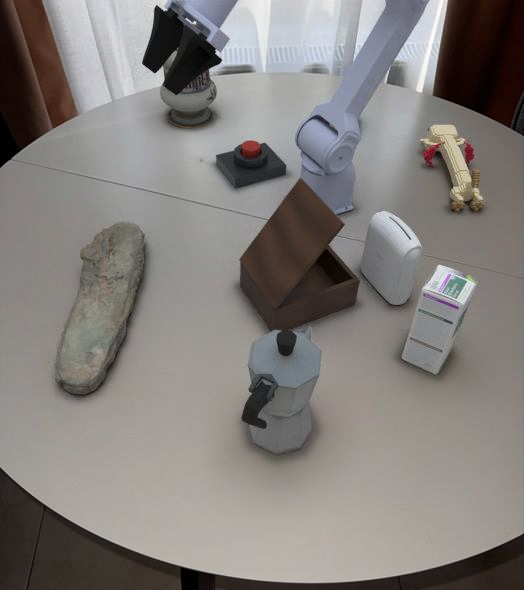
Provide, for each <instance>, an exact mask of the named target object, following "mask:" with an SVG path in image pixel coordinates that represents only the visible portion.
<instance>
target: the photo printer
mask: <svg viewBox="0 0 524 590" xmlns="http://www.w3.org/2000/svg"><path fill="white" fill-rule="evenodd" d="M423 252H424V249H423V245H422V244H421V241H420V240H419V238H418V236H417V235H416V234H415V233H414V231H413V230H412V229H411V227H410V226H409V225H408V224H406V222H404V221H403V220H402V219H401V218H399V217H398V216H397V215H395V214H393V213H391V212H390V211H386V210H382V211H380V212H376V213H375V214H374V215H373V216H372V217H371V219H369V223H368V226H367V231H366V236H365V242H364V247H363V252H362V257H361V263H360V271H361V273H362V274H363V276H364V277H365V278H366V280H368V282H369V284H371V285H372V286H373V288H374V289H375V290H376V291H377V292H378V293H379V294H380V295H381V296H382V297H383V298H384V300H385V301H387V302H388V303H389V304H390V305H394V306H400V305H403V304H405V303H407V301H408V299H410V297H411V294H412V291H413V288H414V284H415V281H416V277H417V273H418V271H419V267H420V264H421V261H422V257H423Z"/></svg>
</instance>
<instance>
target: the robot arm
mask: <svg viewBox="0 0 524 590" xmlns="http://www.w3.org/2000/svg"><path fill="white" fill-rule="evenodd" d="M384 1H385V7H384V9H383V11H382V12H381V14H380V15H379V18H378V19H377V21H375V24H374V25H373V28H372V29H371V31H370V33H369V34H368V36H367V38H366V39H365V41H364V43H363V45H362V46H361V48H360V49H359V51H358V53H357V55H356V56H355V59H354V60H353V62H352V63H351V65H350V67H349V68H348V70H347V72H346V73H345V75H344V76H343V79H342V80H341V82H340V84H339V85H338V87H337V89H336V90H335V92H334V94H333V96H332V97H331V99H330V101H327V102H324V103H322V104H318V105H316V106H314V108H313V110H312V111H311V113H310V114H309V115H308V116H307V117H306V118H305V119H304V120H303V121H302V122H301V123H300V124H299V126H298V127H297V129H296V132H295V136H294V141H295V146H296V147H297V148H298V149H299V150H300V158H301V167H300V178H302V179H303V180H304V181H305V182H306V183H307V184H308V185H309V186H310V187H311V188H312V189H313V190H314V192H315V193H316V194H317V195H318V196H319V197H320V198H321V199H322V200H323V201H324V202H325V203H326V204H327V205H328V206H329V207H330V208H331V210H332V211H333V212H334V213H335V214H336V215H337V216H338V215H340V214H344V213H347V212H350V211H353V210H354V206H353V205H352V201H353V195H354V190H355V185H356V184H355V183H356V174H357V173H356V169H355V165H354V163H353V159H354V156H355V153H356V149H357V147H358V145H359V144H360V141H362V134H361V129H360V124H359V118H360V116H362V114H363V112H364V111H365V109H366V107H367V106H368V104H369V102H370V100H371V99H372V97H373V95H374V94H375V93H376V91H377V89H378V87H379V86H380V84H381V82H382V81H383V79H384V78H385V76H386V75H387V73H388V71H389V70H390V68H391V67H392V65H393V63H394V62H395V60H396V59H397V57H398V55H399V54H400V52H401V50H402V49H403V47H404V46H405V44H406V42H407V41H408V40H409V38H410V36H411V34H412V33H413V31H414V30H415V28H416V26H417V25H418V23H419V22H420V19H421V18H422V17H423V15H424V13H425V10H426V8H427V5H428V4H429V3H430V0H384ZM238 2H239V0H167V1H166V3H165V4H164V6H163V8H165V10H164V9H162V7H160V6H159V5H158V4H156V5H155V6H154V8H153V20H152V28H151V32H150V36H149V39H148V43H147V45H146V49H145V51H144V55H143V57H142V60H141V65H143V67H145V68H146V69H148V70H149V71H151V72H152V73H153V74H156V73H158V72H159V71H160V70H161V69H162V68H163V65H164V64H165V62H166V61H167V60H168V58H169V57H170V56H171V55H172V53H173V52H174V51H175V50H176V49H177V48H178V47H179V49H178V52H177V54H176V57H175V59H174V61H173V63H172V65H171V67H170V69H169V71H168V73H167V75H166V77H165V79H164V78H163V83H162V84H163V86H164V87H165V88H167V89H168V90H170V91H171V92H172V93H174V94H175V95H178V94H179V93H180V92H181V91H182V90H183V89H184V88H185V87H187V86H188V85H189V84H190V83H191V82H192V81H193V80H194V79H196V78H197V77H198V76H199V75H201V74H202V73H204V72H205V71H207V70H208V69H209V70H211V69H212V68H214V67H217V66H218V65H220V64H221V63H222V62H223V59H222V58H221V57H220V56H219V55H218V54H217V51H218V53H222V52H223V50H224V49H225V47H226V45H227V44H228V43H229V41H230V40H231V38H230V37H229V36H228V34H226V33H224V32H223V30H222V29H221V27H222V26H223V24H225V21H226V20H227V18H228V17H229V15H230V13H231V12H232V11H233V9H234V7H235V6H236V5H237V3H238ZM194 22H195V24H196V25H197V26H198V27H199V28H200V29H202V31H200V30H199V29H198V28H197V27H195V26H194V25H193V24H194ZM184 23H185V24H186V25H187V26H188V27H190V28H191V29H192V30H193V31H195V32H196V33H197V34H198V35H197V34H196V33H194V32H193V31H192V30H191V29H190V28H188V27H187V26H186V25H185V26H184V25H183V24H184ZM191 23H193V24H191ZM334 127H336V129H337V130H338V131H337V130H335V129H334Z"/></svg>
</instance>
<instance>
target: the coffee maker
mask: <svg viewBox="0 0 524 590" xmlns="http://www.w3.org/2000/svg"><path fill="white" fill-rule="evenodd" d="M312 328H313V327H312V326H311V325H307V326H304V327H302V328H300V329H296V330H289V329H288V330H283V331H281V330H273V331H272V332H271V331H270V332H268V333H266V334H264V335H262V336H261V337H259V338H258V339H256V340H253V341H252V342H251V346H250V351H249V356H248V360H247V368H248V373H249V377H250V382H251V383H250V385H249V387H248V389H247V390H248V392H249V393H250V395H249V396H248V398H247V399H246V402H245V403H244V407H243V410H242V414H241V417H240V418H241V421H242V422H244V423H245V424H247V426H248V430H249V433H250V438H251V441H252V443H253V445H256V446H258V447H260V448H262V449H263V450H265V451H267V452H268V453H271V454H273V455H275V456H277V455H282V454H286V453H291V452H296V451H301V450H302V448H303V447H304V445H305V444H306V442H307V440H308V438H309V437H310V435H311V434H312V432H313V423H312V414H311V408H310V407H311V406H310V402H311V399H312V396H313V393H314V390H315V388H316V386H317V383H318V380H319V377H320V374H321V363H322V353H323V352H322V350H321V349H320V348H319V347H318V346H317V344H315V343H314V342H313V329H312Z"/></svg>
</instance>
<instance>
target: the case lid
mask: <svg viewBox="0 0 524 590" xmlns="http://www.w3.org/2000/svg"><path fill="white" fill-rule="evenodd" d="M345 226H346V223H345V222H344V221H343V220H342V219H341V218H340V216H339V215H338V214H337V215H336V214H335V213H334V212H333V211H332V210H331V208H330V207H329V206H328V205H327V204H326V203H325V202H324V201H323V200H322V199H321V198H320V197H319V196H318V195H317V194H316V193H315V192H314V190H313V189H312V188H311V187H310V186H309V185H308V184H307V183H306V182H305V181H304V180H303V179H302V178H301V177H299V178H298V179H297V181H296V182H295V184H294V185H293V186H292V188H290V190H289V192H288V193H287V195H286V196H285V197H284V199H283V200H282V201H281V202H280V204H279V205H278V206H277V207H276V209H275V210H274V211H273V213H272V214H271V216H270V217H269V219H268V220H267V221H266V222H265V224H264V225H263V226H262V228H261V229H260V230H259V232H258V233H257V235H256V236H255V237H254V239H253V240H252V241H251V243H250V244H249V246H248V247H247V248H246V250H245V251H243V254H242V255H241V256H240V257H239V258H238V261H239V262H241V263H242V265H243V266H244V268H245V269H246V270H247V272H248V273H249V275H250V276H251V277H252V279H253V280H254V282H255V283H256V284H257V286H258V287H259V288H260V290H261V291H262V293H263V294H264V295H265V297H266V298H267V300H268V301H269V302H270V304H271V305H272V307H273V308H274V309H277V308H278V307H279V305H280V304H281V303H282V302H283V300H284V299H285V298H286V297H287V295H288V294H289V293H290V292H291V291H292V289H293V288H294V287H295V286H296V284H297V283H298V282H299V281H300V280H301V278H302V277H303V276H304V275H305V273H306V272H307V271H308V270H309V268H310V267H311V266H312V265H313V264H314V262H315V261H316V260H317V259H318V257H319V256H320V255H321V254H322V253H323V251H324V250H325V249H326V248H327V246H328V245H329V246H330V244H331V243H332V242H333V240H334V239H335V238H336V237H337V235H338V234H339V233H340V232H341V231H342V229H343V228H344V227H345Z"/></svg>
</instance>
